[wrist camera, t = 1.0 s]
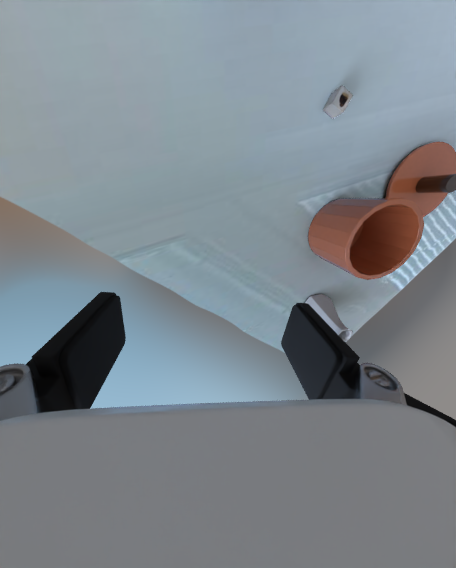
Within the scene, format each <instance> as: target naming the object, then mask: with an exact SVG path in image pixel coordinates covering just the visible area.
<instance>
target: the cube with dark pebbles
mask: <svg viewBox="0 0 456 568" xmlns="http://www.w3.org/2000/svg"><path fill="white" fill-rule="evenodd" d="M352 97H353V95H352V94H351V93H350V92H349V91H348V90H347V89H346V88H345V87H344V86H343V85H342V86H340V87H339V88H338V89H337V90H335V91H334V92H333V93H332V94H331V96H330V98H329V100H328V102H327V103H326V105H325V107H324V109H323V111H325V112H326V113H327V114H328V115H329V116H330V117H331V118H333V119H334V118H336V117H337V116H339V115H341V114H342V113H343V112H344V111H345V109H346V107H347V106H348V104H349V102H350V100H351V99H352Z"/></svg>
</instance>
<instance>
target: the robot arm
mask: <svg viewBox="0 0 456 568" xmlns="http://www.w3.org/2000/svg"><path fill="white" fill-rule="evenodd" d="M124 344H125V330H124V324H123V316H122V309H121V302H120V297H119V296H116V294H115V293H110V292H100V293H99V294H98V295H97V296H96V297H95V298H94V299H93V300H92V301H91V302H90V303H88V304H87V305H86V306H85V307H84V308H83V309H82V310H81V311H80V312H79V313H78V314H77V315H76V316H75V317H74V318H73V319H72V320H70V321H69V322H68V323H67V324H66V325H65V326H64V327H63V328H62V329H61V330H60V331H59V332H58V333H57V334H56V335H54V336H53V337H52V338H51V340H49V341H48V342H47V343H46V344H45V345H44V346H43V347H42V348H41V349H40V350H39V351H37V352H36V353H35V354H34V355H33V356H32V359H31V360H30V361H29V362H28V363H27V364H26V365H24V364H9V365H4V366H1V367H0V568H456V420H454V419H453V418H451V417H449V416H447V415H445V414H443V413H441V412H439V411H438V410H436V409H434V408H432V407H430V406H428V405H426V404H424V403H422V402H420V401H418V400H416V399H414V398H413V397H410V396H409V395H407V394H405V393H404V392H403V389H402V386H401V384H400V382H399V381H398V380H397V379H396V378H395V377H394V376H393V375H392V374H391V373H389V372H388V371H386V370H385V369H383V368H381V367H380V366H377V365H375V364H372V363H363V364H361V365H359V364H358V363H357V362H358V360H359V356H358V355H357V354H356V353H355V352H354V351H353V350H352V349H351V348H350V347H349V346H348V345H347V344H346V343H345V342H344V341H343V340H342V339H341V337H340V336H339V335H338V334H337V333H336V332H335V331H334V330H333V329H332V328H331V327H330V326H329V325H328V324H327V323H326V322H325V321H324V320H323V319H322V317H321V316H320V315H319V314H318V313H317V312H316V311H315V310H314V309H313V308H312V307H311V306H310V305H309V304H308V303H297V304H296V305H294V306H293V308H292V311H291V314H290V317H289V320H288V323H287V326H286V329H285V332H284V335H283V338H282V341H281V344H282V347H283V349H284V351H285V353H286V355H287V357H288V359H289V361H290V363H291V365H292V367H293V369H294V371H295V373H296V375H297V377H298V378H299V381H300V383H301V385H302V387H303V388H304V391H305V392H306V394H307V396H308V398H309V400H282V401H256V402H255V401H253V402H228V403H227V402H226V403H200V404H176V405H155V406H154V405H153V406H131V407H111V408H95V409H90V407H91V406H92V404H93V402H94V400H95V398H96V396H97V395H98V392H99V391H100V389H101V387H102V385H103V383H104V382H105V380H106V378H107V376H108V374H109V372H110V370H111V368H112V366H113V365H114V363H115V361H116V359H117V357H118V355H119V353H120V351H121V350H122V348H123V346H124Z"/></svg>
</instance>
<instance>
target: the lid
mask: <svg viewBox="0 0 456 568" xmlns="http://www.w3.org/2000/svg"><path fill="white" fill-rule="evenodd" d="M455 190H456V152H455V150H454V148H453V147H452V146H450V145H449V144H447V143H444V142H433V143H429V144H425V145H423V146H421V147H419V148H417V149H416V150H414V151H413V152H411V153H410V154H409V155H408V156H407V157H406V158H405V159H404V160H403V161H402V162H401V163H400V164H399V166H398V167H397V169H396V170H395V172H394V173H393V175H392V177H391V179H390V182H389V184H388V188H387V192H386V198H404V199H407V200H410V201H412V202H415V203H416V204H417V206H418V207H419V208H420V210H421V211H422V214H423V217H424V216H426V215H427V214H429V213H430V212H432V211H433V210H434V209H435V208H436V207H437V206H438V205H439V204H440V203H441V202H442V201H443V200H444V198H445V197H446V195H447V194H448V193H451V192H453V191H455Z"/></svg>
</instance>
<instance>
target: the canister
mask: <svg viewBox="0 0 456 568" xmlns="http://www.w3.org/2000/svg"><path fill="white" fill-rule="evenodd" d="M423 227H424V221H423V214H422V211H421V210H420V208H419V207H418V206H417V204H416V203H415V202H412V201H410V200H407V199H404V198H341V199H337V200H334V201H332V202H330V203H328V204H327V205H325V206H324V207H323V208H321V210H320V211H319V212H318V213H317V214H316V215H315V217H314V219H313V220H312V223H311V225H310V228H309V233H308V241H309V245H310V248H311V250H312V251H313V252H314V253H315V254H316V255H317V256H319V257H320V258H321V259H323V260H325V261H327V262H329V263H331V264H333V265H335V266H337V267H338V268H340V269H342V270H344V271H346V272H348V273H350V274H352V275H354V276H355V277H358V278H362V279H366V280H369V279H376V278H381V277H383V276H385V275H387V274H390V273H392V272H393V271H395V270H396V269H397V268H399V267H400V266H401V265H403V264H404V263H405V262H406V260H407V259H408V258H409V257H410V256H411V255H412V253H413V252H414V251H415V249H416V247H417V245H418V243H419V241H420V239H421V236H422V232H423Z"/></svg>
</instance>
